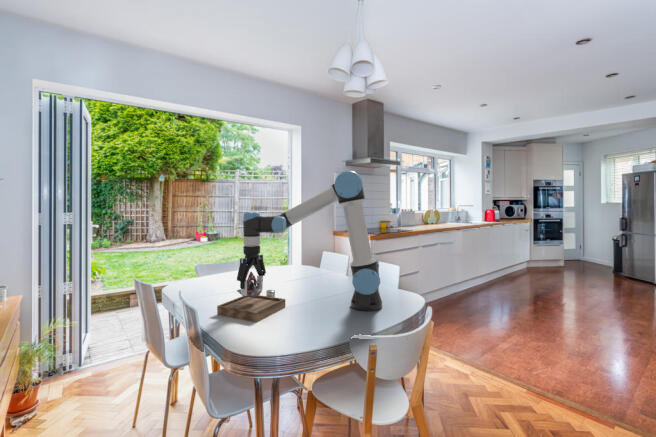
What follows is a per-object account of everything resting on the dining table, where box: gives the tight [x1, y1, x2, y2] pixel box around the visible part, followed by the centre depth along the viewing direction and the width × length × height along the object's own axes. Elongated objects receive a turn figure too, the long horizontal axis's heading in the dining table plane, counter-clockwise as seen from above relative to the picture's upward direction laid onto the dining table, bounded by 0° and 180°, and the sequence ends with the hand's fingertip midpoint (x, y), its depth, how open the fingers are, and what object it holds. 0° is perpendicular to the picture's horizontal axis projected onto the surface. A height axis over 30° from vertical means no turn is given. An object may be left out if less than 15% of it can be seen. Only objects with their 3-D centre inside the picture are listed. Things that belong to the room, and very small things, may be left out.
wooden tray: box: [216, 295, 286, 323], centre depth 151 cm, size 22×22×4 cm
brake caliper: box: [236, 271, 263, 297], centre depth 151 cm, size 11×11×12 cm
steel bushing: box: [265, 289, 276, 298], centre depth 167 cm, size 4×4×5 cm
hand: (252, 292), depth 150 cm, fingers closed on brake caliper, 11 cm apart
